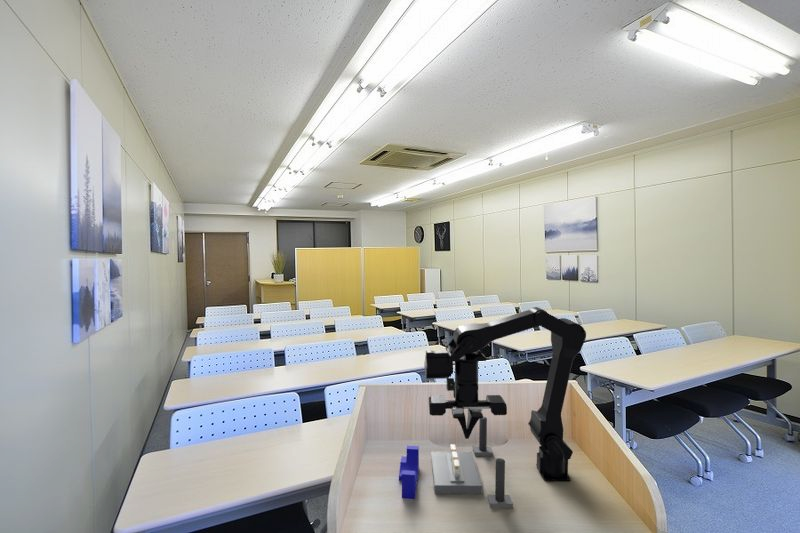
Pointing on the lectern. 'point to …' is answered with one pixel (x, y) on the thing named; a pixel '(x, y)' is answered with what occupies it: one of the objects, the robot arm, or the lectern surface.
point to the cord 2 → (499, 488)
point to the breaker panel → (445, 474)
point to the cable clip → (409, 472)
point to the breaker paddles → (454, 460)
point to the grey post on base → (482, 440)
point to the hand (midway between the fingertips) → (466, 437)
